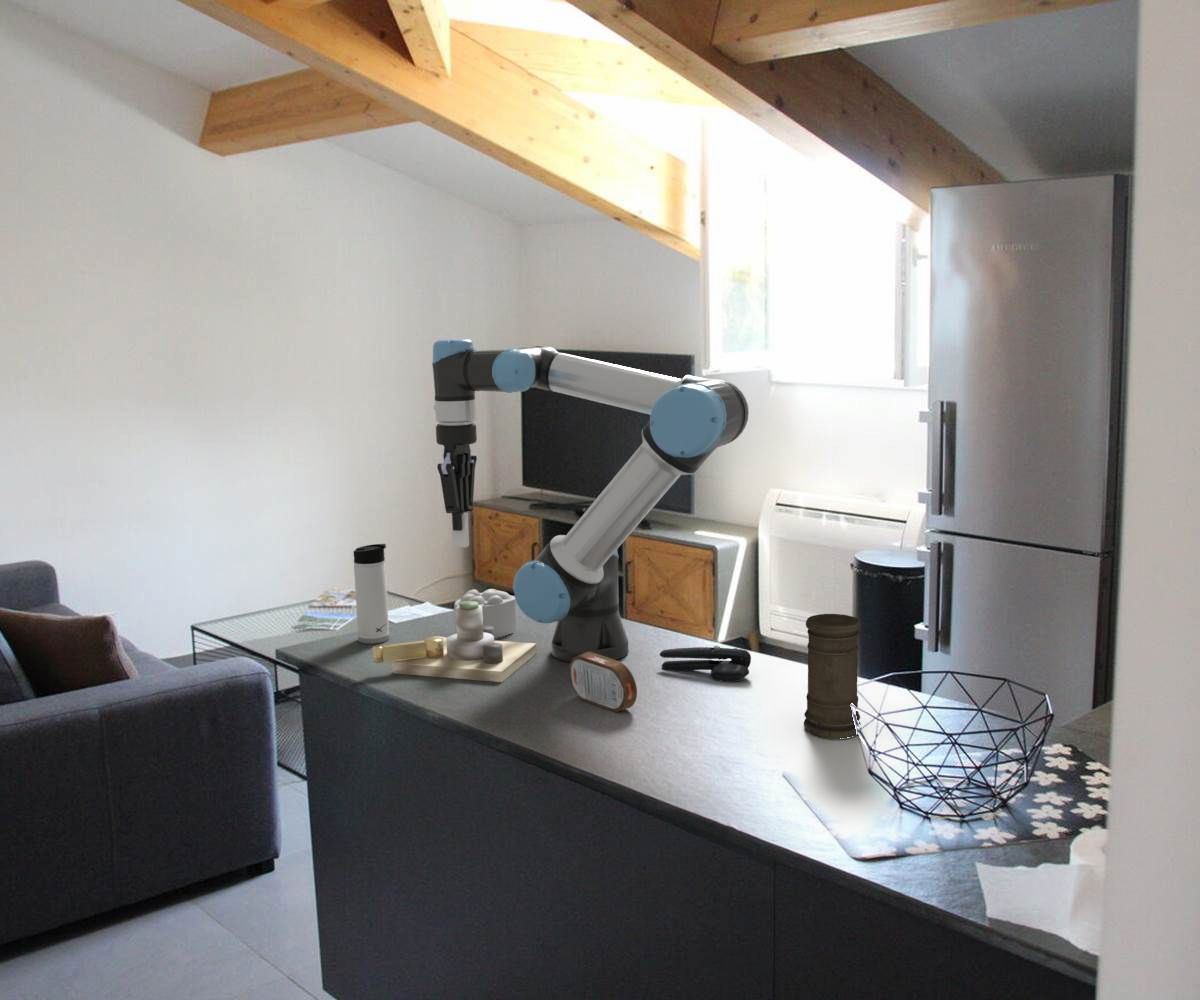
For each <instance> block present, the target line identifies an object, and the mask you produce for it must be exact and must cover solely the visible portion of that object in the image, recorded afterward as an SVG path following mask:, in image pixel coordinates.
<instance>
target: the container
mask: <svg viewBox="0 0 1200 1000" xmlns="http://www.w3.org/2000/svg"><path fill="white" fill-rule="evenodd" d="M805 626H806V628H807V631H806V632H807V635H808V643H807V645H806V647H807V693H806V709H805V712H804V714H803V715H804V717H805V719H804V721H803V727H804V730H805V732H806V733H808V734H809V735H811V736H814V737H817V738H821V739H825V738H826V740H834V739H840V738H841V739H840V740H843V739H842V738H847V737H852V736H855V737H857V736H858V735H856V729H855V725H854V721H853V717H852V710H851V707H850V704H851V703H853V704H854V705H855V706H856V707H858V708H859V704H858V703H859V695H858V667H859V666H858V664H859V661H858V660H859V659H858V655H859V654H858V651H859V645H858V638H859V635H860V631H859V630H860V628H861V626H862V624H861V621H860V619H859V618H857V617H855V616H851V615H849V614H848V615H847V614H840V613H822V614H821V613H820V614H815V615H812V616H809V617H807V619H806V620H805ZM856 716H857V720H858V721H859V724H860V725H861V722H860V719H861V716H860V712H859V711H856ZM861 726H862V725H861ZM852 738H853V737H852Z"/></svg>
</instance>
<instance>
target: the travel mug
mask: <svg viewBox="0 0 1200 1000" xmlns="http://www.w3.org/2000/svg"><path fill="white" fill-rule="evenodd" d="M386 548H387V545H386V543H377V544H375V543H374V544H368V545H363V546H359V547H357V548H355V549H354V550H353V568H354V569H353V571H354V587H355V588H354V589H355V603H356V604H355V608H356V621H357V633H358V634H357V640H358V642H359V643H361V644H365V645H366V644H367V645H375V644H382V643H385V642H388V640H390V631H389V630H390V623H389V610H388V609H389V608H388V605H389V604H388V592H387V591H388V590H387V588H388V587H387V573H386V572H387V571H386V570H387V569H386V558H385V549H386Z"/></svg>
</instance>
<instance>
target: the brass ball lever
mask: <svg viewBox="0 0 1200 1000" xmlns="http://www.w3.org/2000/svg"><path fill="white" fill-rule="evenodd" d="M441 637H442V636H438V637H434V636H429V637H426V638H424V639H422V640H416V641H407V642H400V643H391V644H383V645H374V646H372V661H373V663H375V664H381V663H386V662H388V663H389V662H394V661H396V660H403V659H411V658H419V657H428V658H437V657H441V656H443V655H444V648H443V638H441Z"/></svg>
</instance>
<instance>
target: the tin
mask: <svg viewBox="0 0 1200 1000" xmlns="http://www.w3.org/2000/svg"><path fill="white" fill-rule="evenodd" d="M568 671H569V680H570V685H571V688H572V689H573V691H574V692H575V694H576V695H577V696H578V697H579V698H580V699H581V700H583V701H585V702H587V703H589V704H592V705H595V706H598V707H600V708H603V709H605V710H608V711H611V712H614V713H616V712H617V713H619V712H622V711H624V710H626V709H630V708H632V707H633V706H634V705H635V703H636V701H637V696H638V688H637V683H636V680H635V678H634V675H633V673H632V672H631V671H630V669H629V668H628V667H627V666H626V665H625V664H624V663H622V662H620V661H618V660H613V659H610V658H607V657H604V656H601V655H598V654H596V653H593V652H585V653H583V654H581V655H579V656H576V657H575V658H573V659H572V661H571V662H569V670H568Z"/></svg>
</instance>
